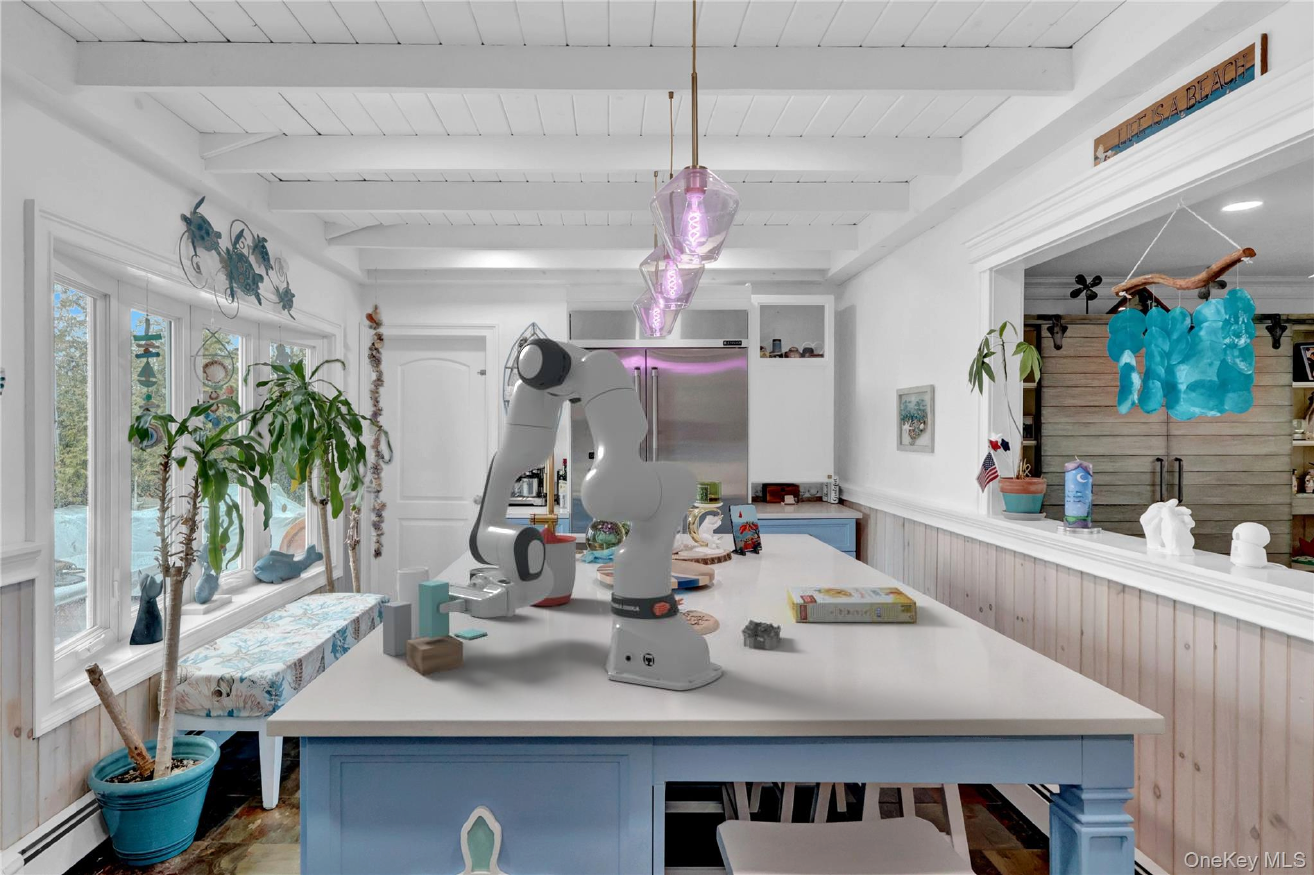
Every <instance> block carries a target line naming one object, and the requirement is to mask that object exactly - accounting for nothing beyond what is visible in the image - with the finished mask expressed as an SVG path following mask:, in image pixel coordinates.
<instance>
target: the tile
mask: <svg viewBox="0 0 1314 875" xmlns="http://www.w3.org/2000/svg"><path fill="white" fill-rule="evenodd" d="M453 634H454V636H453V637H455V636H459V637H462V638H461V639H463V638H466V639H465V640H467V639H470V640H472V639H471V638H474V639H476V638H475V637H477V638H479V637H478V636H481V637H483V636H482V635H485V634H487V635H488V632H487V631H485V630H484V631H483V630H480V629H475V628H471V629H467V630H463V631H459V632H454V633H453ZM485 636H486V635H485ZM459 637H458V638H459Z"/></svg>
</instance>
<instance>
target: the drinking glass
mask: <svg viewBox="0 0 1314 875" xmlns="http://www.w3.org/2000/svg"><path fill="white" fill-rule="evenodd" d="M396 573H397V574H396V588H397V589H396V590H397V592H396V593H397V601H404V602H408V603H411V629H412V639H418V638H424V636H420V635H419V583H423V582H429V581H430V568H429V567H425V566H410V567H409V566H407V567H406V566H405V567H402V568H399V569H398V570H397V572H396Z"/></svg>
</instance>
